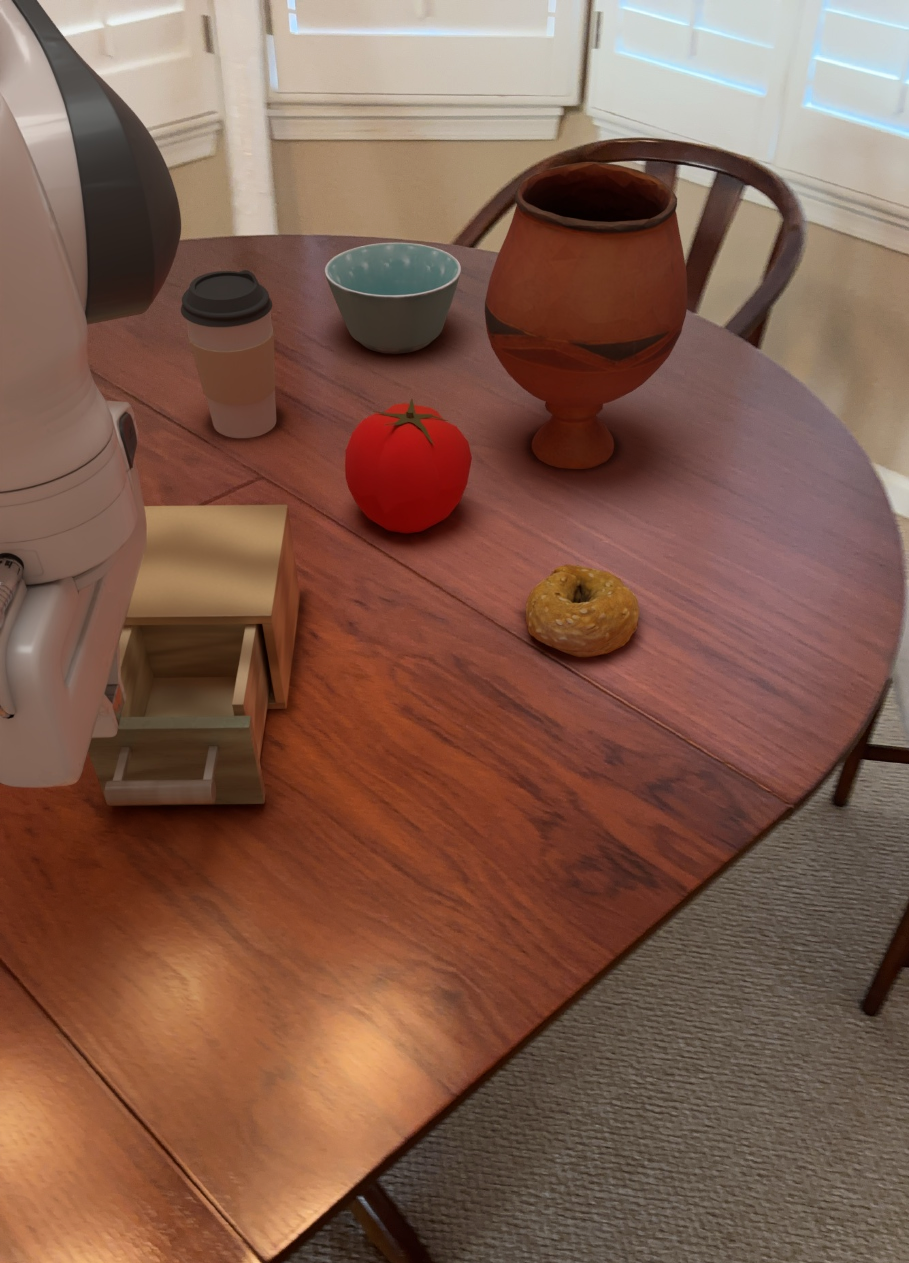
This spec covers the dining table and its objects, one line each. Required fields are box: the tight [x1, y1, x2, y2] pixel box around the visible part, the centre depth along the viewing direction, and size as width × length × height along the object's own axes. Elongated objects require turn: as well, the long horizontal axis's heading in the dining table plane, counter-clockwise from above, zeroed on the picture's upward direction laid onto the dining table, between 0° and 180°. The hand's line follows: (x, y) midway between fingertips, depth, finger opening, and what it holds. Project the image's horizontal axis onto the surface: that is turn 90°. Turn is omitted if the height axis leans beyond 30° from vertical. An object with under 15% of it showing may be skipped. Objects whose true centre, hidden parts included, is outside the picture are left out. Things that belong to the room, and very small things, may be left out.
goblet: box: [484, 161, 688, 470], centre depth 103 cm, size 19×19×25 cm
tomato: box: [344, 398, 473, 534], centre depth 100 cm, size 12×12×11 cm
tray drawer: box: [87, 624, 271, 807], centre depth 78 cm, size 18×11×8 cm, turn 1°
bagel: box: [525, 564, 640, 658], centre depth 91 cm, size 10×11×5 cm
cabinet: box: [124, 504, 301, 710], centre depth 87 cm, size 15×13×10 cm
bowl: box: [324, 242, 462, 355], centre depth 126 cm, size 16×16×8 cm
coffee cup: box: [180, 269, 277, 439], centre depth 110 cm, size 9×9×15 cm
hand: (107, 719), depth 59 cm, fingers closed
